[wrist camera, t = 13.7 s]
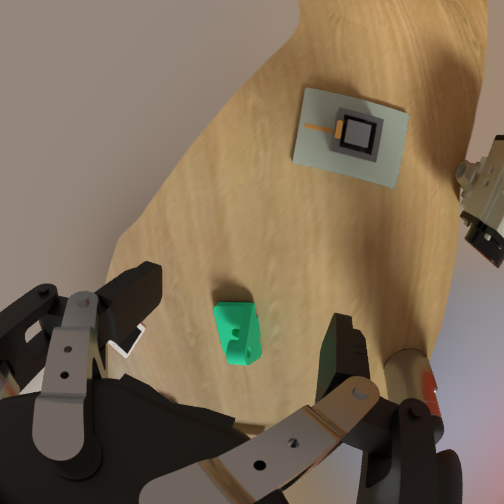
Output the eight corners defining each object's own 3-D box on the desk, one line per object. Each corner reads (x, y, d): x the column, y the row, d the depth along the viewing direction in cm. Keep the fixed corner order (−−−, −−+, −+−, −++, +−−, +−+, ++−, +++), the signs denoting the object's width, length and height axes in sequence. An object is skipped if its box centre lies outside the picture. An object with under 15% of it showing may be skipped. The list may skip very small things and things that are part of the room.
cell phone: (105, 336, 68) (103, 338, 67) (121, 302, 60) (118, 303, 59) (127, 357, 68) (126, 359, 67) (147, 326, 60) (145, 328, 60)
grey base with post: (407, 115, 32) (422, 109, 26) (393, 188, 37) (406, 195, 30) (305, 88, 35) (302, 76, 28) (292, 162, 39) (287, 164, 33)
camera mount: (217, 299, 52) (195, 329, 42) (255, 299, 50) (239, 332, 40) (228, 347, 56) (211, 380, 46) (263, 349, 54) (250, 384, 44)
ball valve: (472, 123, 29) (538, 119, 13) (503, 154, 28) (568, 165, 12) (430, 214, 36) (484, 253, 20) (463, 239, 36) (517, 286, 20)
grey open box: (375, 122, 33) (384, 119, 28) (368, 161, 35) (376, 162, 31) (336, 112, 34) (339, 106, 29) (329, 151, 36) (331, 150, 31)
